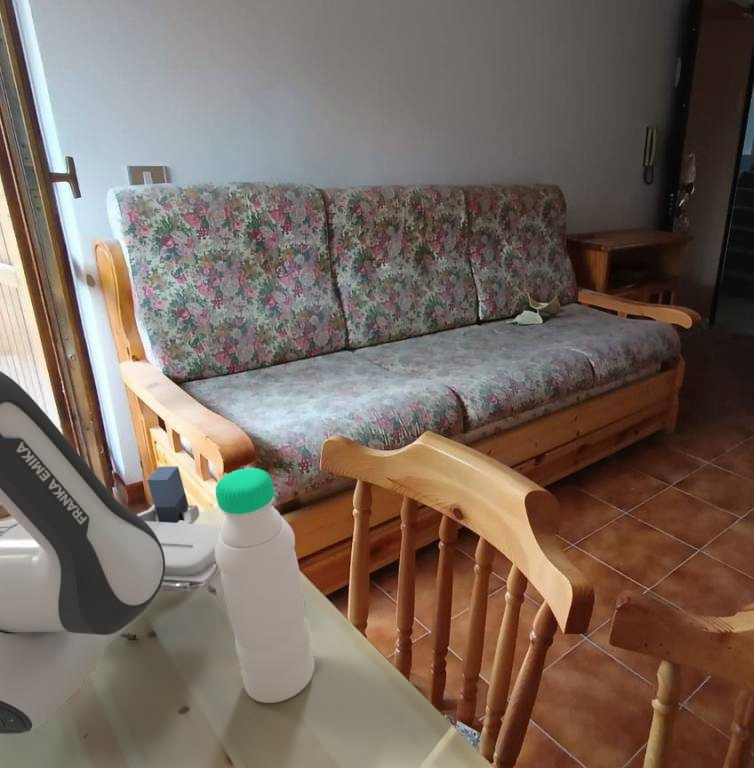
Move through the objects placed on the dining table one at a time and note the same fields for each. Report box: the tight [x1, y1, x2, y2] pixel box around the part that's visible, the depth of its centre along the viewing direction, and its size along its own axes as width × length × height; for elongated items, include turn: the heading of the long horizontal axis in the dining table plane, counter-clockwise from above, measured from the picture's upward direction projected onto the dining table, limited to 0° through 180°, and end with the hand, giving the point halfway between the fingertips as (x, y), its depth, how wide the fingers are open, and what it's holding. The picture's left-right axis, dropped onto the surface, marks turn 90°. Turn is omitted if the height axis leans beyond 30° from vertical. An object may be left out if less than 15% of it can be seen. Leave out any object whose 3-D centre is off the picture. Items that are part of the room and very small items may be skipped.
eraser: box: [146, 465, 189, 523], centre depth 79 cm, size 2×3×13 cm
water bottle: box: [215, 467, 315, 704], centre depth 61 cm, size 7×7×25 cm
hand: (177, 508), depth 80 cm, fingers closed on eraser, 2 cm apart
